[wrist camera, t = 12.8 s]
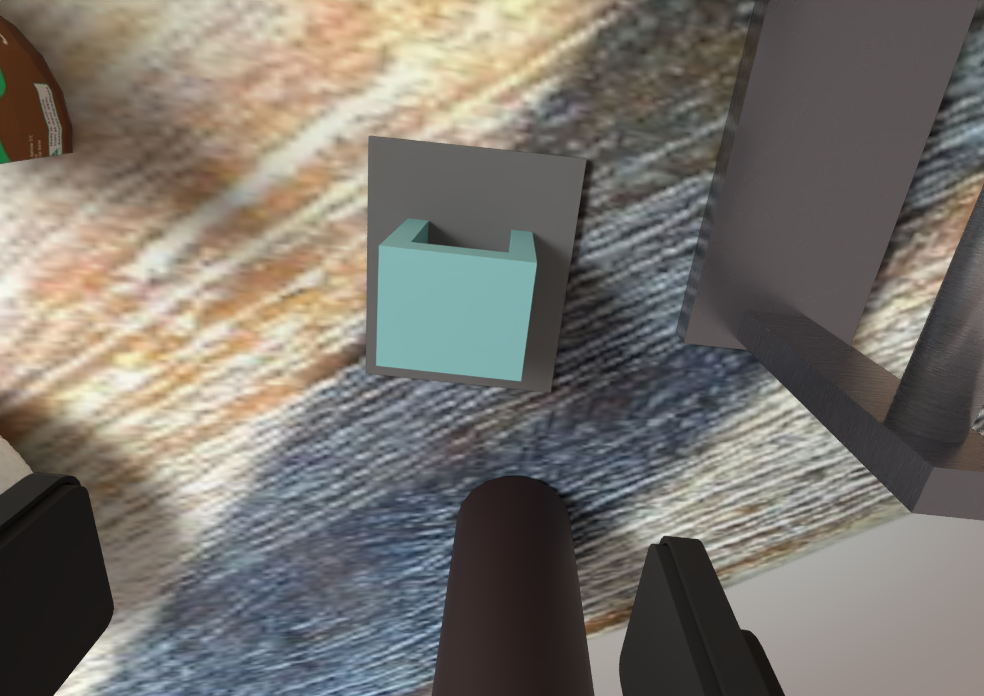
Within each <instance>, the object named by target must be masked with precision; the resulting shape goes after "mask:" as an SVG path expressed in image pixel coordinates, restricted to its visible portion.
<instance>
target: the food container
mask: <svg viewBox="0 0 984 696" xmlns="http://www.w3.org/2000/svg"><path fill="white" fill-rule="evenodd" d="M68 153H73V146H72V125H71V122H70V118H69V114H68V111H67V107H66V103H65V100H64V96H63V92H62V90H61V88H60V87H59V85H58V83H57V81H56V79H55V78H54V76H53V74H52V72H51V70H50V69H49V67H48V65H47V63H46V61H45V60H44V58H43V56H42V55H41V54H40V53H39V52H38V51H37V50H36V49H35V47H34V46H33V45H32V44H31V43H30V42H29V41H28V40H27V39H26V38H25V36H24V35H23V34H22V33H21V32H20V31H19V30H18V29H17V28H16V27H15V26H14V25H13V24H11V23H10V22H8V21H7V20H5V19H4V18H3V17H1V16H0V164H3V163H9V162H16V161H22V160H29V159H35V158H42V157H49V156H55V155H62V154H68Z"/></svg>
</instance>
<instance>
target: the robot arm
mask: <svg viewBox="0 0 984 696" xmlns="http://www.w3.org/2000/svg"><path fill="white" fill-rule="evenodd" d="M113 610H114V604H113V599H112V595H111V590H110V586H109V582H108V577H107V573H106V568H105V564H104V560H103V555H102V551H101V547H100V542H99V538H98V533H97V529H96V525H95V520H94V516H93V511H92V507H91V503H90V498H89V494H88V491H87V489H86V488H85V487H83V486H81V485H80V482H79V480H78V479H77V478H76V477H73V476H69V475H59V474H49V473H39V472H36V473H31V474H29V475H27V476H25V477H24V478H22V479H21V480H20V481H18V482H17V483H16V484H14V485H13V486H11V487H10V488H9V489H7V490H6V491H5V492H3V493H2V494H1V495H0V696H53V695H54V694H55V693H56V692H57V690H58V689H59V688H60V687H61V685H62V684H63V683H64V682H65V680H66V679H67V678H68V676H69V675H70V674H71V673H72V671H73V670H74V669H75V668H76V666H77V665H78V664H79V663H80V661H81V660H82V659H83V658H84V656H85V655H86V654H87V653H88V651H89V650H90V649H91V647H92V646H93V645H94V644H95V642H96V641H97V640H98V639H99V637H100V636H101V635H102V634H103V632H104V631H105V630H106V628H107V627H108V625H109V623H110V621H111V618H112V615H113ZM619 674H620V682H621V688H622V693H623V696H785V695H784V693H783V690H782V688H781V686H780V684H779V682H778V680H777V677H776V675H775V673H774V671H773V669H772V667H771V665H770V662H769V660H768V658H767V656H766V654H765V652H764V650H763V648H762V646H761V644H760V642H759V641H758V639H757V637H756V636H755V635H754V634H753V633H752V632H750V631H748V630H741V629H740V627H739V625H738V622H737V620H736V618H735V616H734V614H733V611H732V609H731V606H730V604H729V602H728V600H727V597H726V595H725V593H724V591H723V588H722V586H721V584H720V582H719V579H718V577H717V575H716V573H715V570H714V568H713V566H712V563H711V561H710V559H709V557H708V554H707V552H706V550H705V548H704V546H703V544H702V542H701V541H700V540H698V539H691V538H681V537H671V536H663V538H662V539H661V541H660V543H659V544H651V545H650V546H649V549H648V552H647V556H646V560H645V564H644V567H643V571H642V575H641V579H640V583H639V586H638V590H637V594H636V598H635V602H634V605H633V609H632V613H631V617H630V621H629V624H628V628H627V632H626V636H625V640H624V643H623V647H622V651H621V655H620V663H619Z"/></svg>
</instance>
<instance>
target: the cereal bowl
mask: <svg viewBox="0 0 984 696" xmlns="http://www.w3.org/2000/svg"><path fill="white" fill-rule="evenodd" d="M31 473H33V472H32V471H31V469H30V467H29V465H27V464H26V463H25V461H24V459H23V458H21V456H20V454H19V453H18V452H16V451H15V450H14V449H13V447H12V446H10V445H9V443H8V441H6V440H5V439H3V438H2V437H1V436H0V495H1V494H2V493H3V492H5V491H6V490H7V489H9V488H10V487H11V486H13V485H14V484H16V483H17V482H18V481H20V480H21V479H22V478H24V477H25V476H27V475H29V474H31Z"/></svg>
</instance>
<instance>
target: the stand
mask: <svg viewBox="0 0 984 696" xmlns="http://www.w3.org/2000/svg"><path fill="white" fill-rule="evenodd" d="M978 2H979V0H756V1H755V5H754V9H753V13H752V17H751V22H750V26H749V30H748V34H747V38H746V42H745V47H744V51H743V55H742V59H741V63H740V67H739V72H738V76H737V80H736V84H735V88H734V92H733V97H732V101H731V105H730V109H729V113H728V117H727V121H726V126H725V130H724V134H723V138H722V142H721V146H720V151H719V155H718V159H717V163H716V167H715V171H714V176H713V180H712V184H711V188H710V192H709V196H708V201H707V205H706V209H705V213H704V217H703V221H702V225H701V230H700V234H699V238H698V242H697V246H696V250H695V255H694V259H693V263H692V267H691V271H690V275H689V280H688V284H687V288H686V292H685V296H684V300H683V305H682V309H681V313H680V317H679V321H678V325H677V329H676V333H677V335H678V336H679V337H680V339H681V340H682V341H683V343H686V344H696V345H705V346H715V347H724V348H734V349H744V350H748V351H749V352H750V353H751V354H752V355H753V356H754V357H755V358H756V359H757V360H758V361H759V362H760V363H761V364H762V365H763V366H764V367H765V368H766V369H767V370H768V371H769V372H770V373H771V374H773V375H774V376H775V377H776V378H777V379H778V380H779V381H780V382H781V383H782V384H783V385H784V386H785V387H786V388H787V389H788V390H789V391H790V392H791V393H792V394H793V395H794V396H795V397H796V398H797V399H798V400H799V401H800V402H801V403H802V404H803V405H804V406H805V407H806V408H807V409H808V410H809V411H810V412H811V413H812V414H813V415H814V416H815V417H816V418H817V419H818V420H819V421H820V422H821V423H822V424H823V425H824V426H825V427H826V428H827V429H828V430H829V431H830V432H831V433H832V434H833V435H834V436H835V437H836V438H837V439H838V440H839V441H840V442H841V443H842V444H843V445H844V446H845V447H846V448H847V449H848V450H849V451H850V452H851V453H852V454H853V455H854V456H855V457H856V458H857V459H858V460H859V461H860V462H861V463H862V464H863V465H864V466H865V467H866V468H867V469H868V470H869V471H870V472H871V473H872V474H873V475H874V476H875V477H876V478H877V479H878V480H879V481H880V482H881V483H882V484H883V485H884V486H885V487H886V488H887V489H888V490H889V491H890V492H891V493H892V494H893V495H894V496H895V497H896V498H897V499H898V500H899V501H900V502H901V503H902V504H903V505H904V506H905V507H906V508H907V509H908V510H909V511H910V512H911V513H917V514H927V515H937V516H946V517H956V518H966V519H975V520H984V436H982V435H981V434H980V433H978V432H977V431H975V430H974V429H972V426H973V424H974V422H975V420H976V418H977V416H978V414H979V412H980V410H981V408H982V406H983V404H984V185H983V187H982V190H981V192H980V195H979V197H978V199H977V202H976V204H975V206H974V209H973V211H972V213H971V216H970V218H969V221H968V223H967V225H966V228H965V230H964V232H963V235H962V237H961V240H960V242H959V244H958V247H957V249H956V251H955V254H954V256H953V258H952V261H951V263H950V266H949V268H948V270H947V273H946V275H945V277H944V280H943V282H942V285H941V287H940V289H939V292H938V294H937V296H936V299H935V301H934V303H933V306H932V308H931V311H930V313H929V315H928V318H927V320H926V322H925V325H924V327H923V329H922V332H921V334H920V337H919V339H918V341H917V344H916V346H915V348H914V351H913V353H912V356H911V358H910V360H909V363H908V365H907V367H906V370H905V372H904V374H903V377H902V379H901V380H900V379H898V378H897V377H895V376H894V375H893V374H891V373H890V372H888V371H887V370H885V369H884V368H882V367H881V366H879V365H878V364H876V363H875V362H873V361H872V360H870V359H869V358H867V357H866V356H864V355H863V354H862V353H860V352H859V351H857V350H856V349H854V348H853V347H851V346H850V345H851V342H852V340H853V337H854V334H855V332H856V329H857V326H858V324H859V321H860V318H861V316H862V313H863V310H864V308H865V305H866V302H867V300H868V297H869V294H870V292H871V289H872V286H873V284H874V281H875V278H876V275H877V273H878V270H879V267H880V265H881V262H882V259H883V257H884V254H885V251H886V249H887V246H888V243H889V241H890V238H891V235H892V233H893V230H894V227H895V225H896V222H897V219H898V217H899V214H900V211H901V209H902V206H903V203H904V200H905V198H906V195H907V192H908V190H909V187H910V184H911V182H912V179H913V176H914V174H915V171H916V168H917V166H918V163H919V160H920V158H921V155H922V152H923V150H924V147H925V144H926V142H927V139H928V136H929V134H930V131H931V128H932V126H933V123H934V120H935V117H936V115H937V112H938V109H939V107H940V104H941V101H942V99H943V96H944V93H945V91H946V88H947V85H948V83H949V80H950V77H951V75H952V72H953V69H954V67H955V64H956V61H957V59H958V56H959V53H960V51H961V48H962V45H963V42H964V40H965V37H966V34H967V32H968V29H969V26H970V24H971V21H972V18H973V16H974V13H975V10H976V8H977V5H978Z"/></svg>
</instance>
